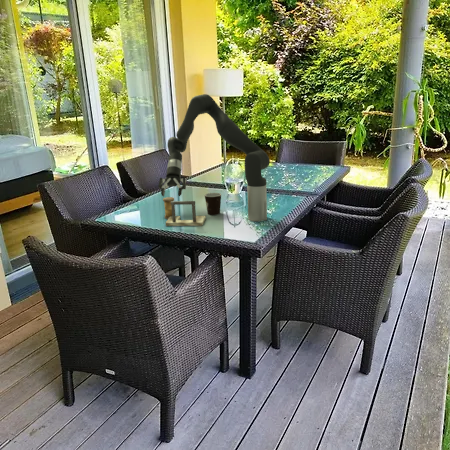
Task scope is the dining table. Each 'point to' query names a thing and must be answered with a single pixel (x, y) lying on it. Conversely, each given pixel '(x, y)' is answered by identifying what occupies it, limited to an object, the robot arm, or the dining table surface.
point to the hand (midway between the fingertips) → (171, 195)
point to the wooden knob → (168, 206)
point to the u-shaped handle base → (176, 220)
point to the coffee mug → (213, 203)
